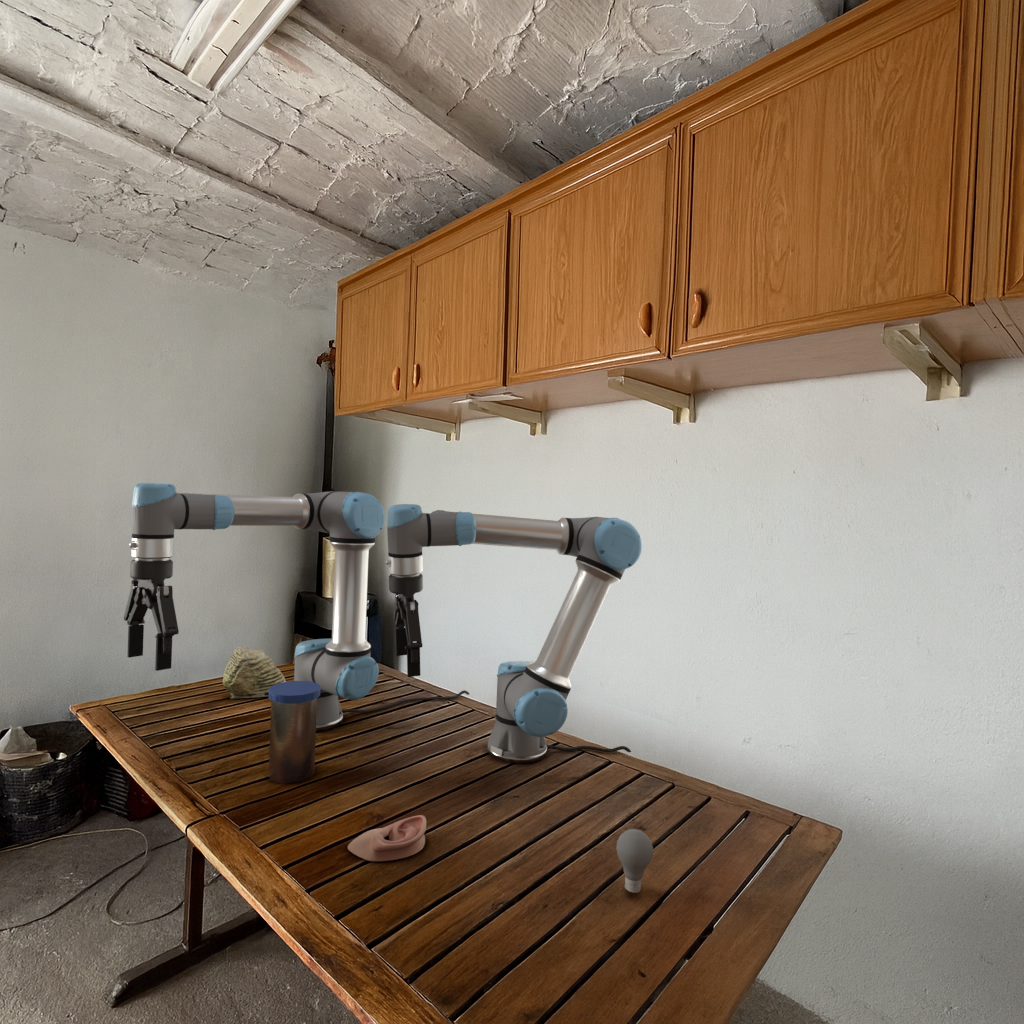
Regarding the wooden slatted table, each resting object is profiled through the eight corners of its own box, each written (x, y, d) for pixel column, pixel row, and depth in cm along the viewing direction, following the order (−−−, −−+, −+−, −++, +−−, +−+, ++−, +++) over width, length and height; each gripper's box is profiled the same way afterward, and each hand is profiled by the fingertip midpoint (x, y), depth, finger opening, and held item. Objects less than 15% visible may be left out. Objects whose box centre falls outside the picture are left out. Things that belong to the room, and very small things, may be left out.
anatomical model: (340, 834, 112) (368, 804, 123) (339, 856, 112) (367, 824, 123) (411, 845, 109) (433, 813, 120) (410, 868, 109) (432, 834, 120)
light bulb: (610, 879, 108) (613, 822, 108) (644, 879, 109) (647, 822, 109) (619, 902, 102) (622, 840, 102) (655, 901, 103) (658, 840, 103)
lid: (258, 695, 143) (258, 687, 143) (302, 685, 152) (302, 677, 152) (285, 707, 136) (285, 698, 136) (330, 695, 145) (330, 688, 145)
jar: (260, 773, 143) (263, 689, 143) (298, 760, 151) (301, 680, 151) (283, 787, 137) (287, 699, 137) (323, 773, 145) (326, 690, 144)
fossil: (218, 695, 195) (220, 647, 195) (278, 685, 208) (279, 640, 207) (228, 703, 189) (230, 653, 188) (289, 692, 201) (290, 645, 201)
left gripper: (108, 554, 134) (104, 654, 134) (159, 565, 118) (155, 678, 119) (146, 552, 140) (143, 648, 140) (199, 563, 124) (195, 671, 124)
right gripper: (379, 563, 152) (382, 649, 154) (399, 588, 128) (401, 688, 131) (411, 561, 154) (412, 645, 157) (435, 585, 131) (437, 683, 134)
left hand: (148, 662), depth 129 cm, fingers open, 13 cm apart
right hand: (407, 665), depth 144 cm, fingers open, 13 cm apart
